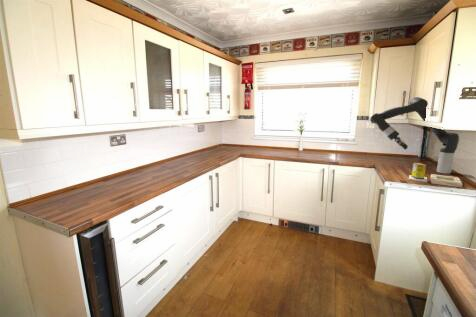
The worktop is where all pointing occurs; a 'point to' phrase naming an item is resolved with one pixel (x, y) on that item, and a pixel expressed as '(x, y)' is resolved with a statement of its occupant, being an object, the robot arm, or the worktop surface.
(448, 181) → the puzzle board
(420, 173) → the supplement box
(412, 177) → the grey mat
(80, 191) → the worktop surface
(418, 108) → the robot arm
